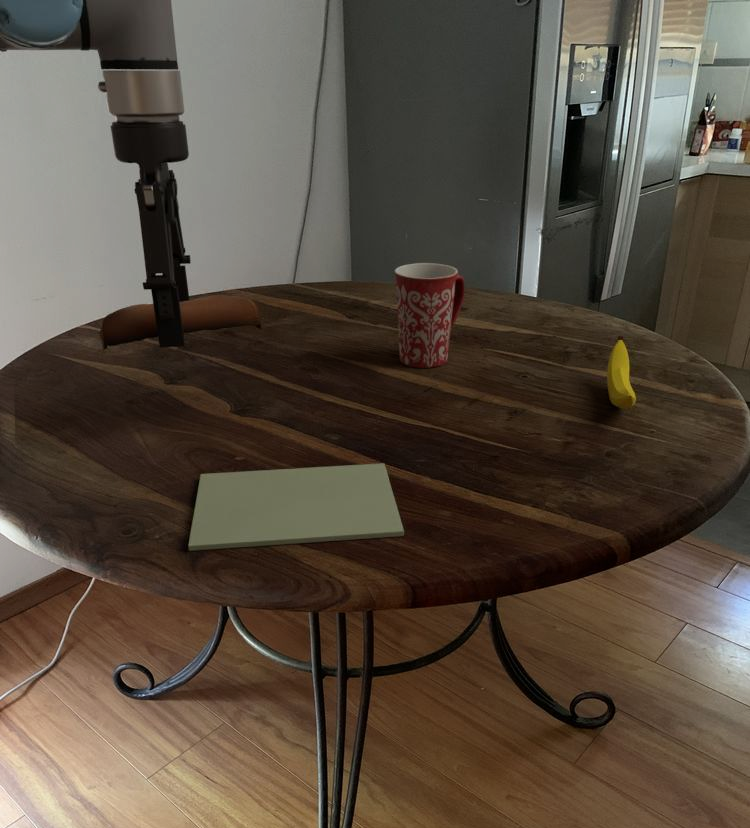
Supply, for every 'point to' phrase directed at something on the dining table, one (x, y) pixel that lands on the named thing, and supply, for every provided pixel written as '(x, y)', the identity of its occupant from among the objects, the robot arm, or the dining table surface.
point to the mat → (294, 507)
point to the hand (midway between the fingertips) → (176, 332)
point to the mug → (427, 311)
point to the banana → (620, 377)
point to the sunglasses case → (194, 313)
